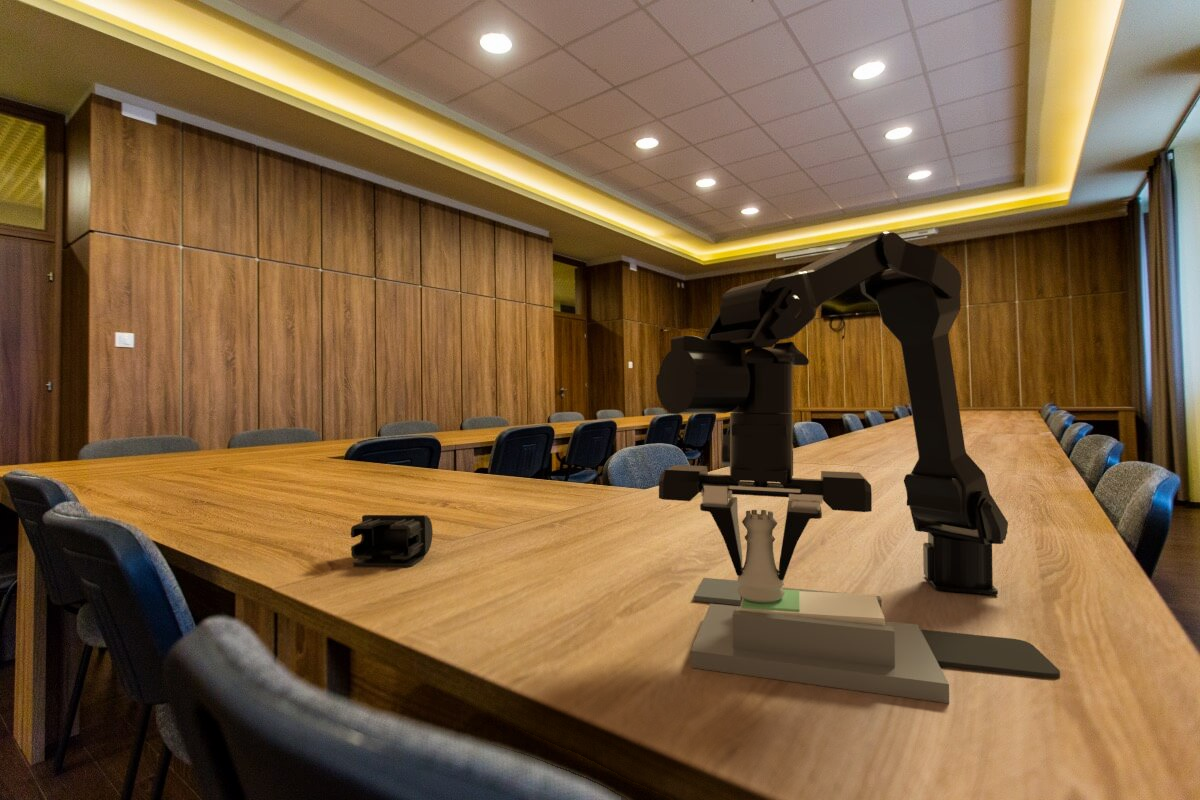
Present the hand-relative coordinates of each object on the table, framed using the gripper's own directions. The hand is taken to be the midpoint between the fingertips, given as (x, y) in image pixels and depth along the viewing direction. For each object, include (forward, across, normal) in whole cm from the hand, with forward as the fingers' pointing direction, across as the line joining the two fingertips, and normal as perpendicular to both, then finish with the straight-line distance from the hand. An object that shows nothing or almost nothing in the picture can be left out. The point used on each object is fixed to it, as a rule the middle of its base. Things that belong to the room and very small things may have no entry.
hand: (760, 576), depth 54 cm
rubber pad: (+7, +5, -14) cm, 16 cm away
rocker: (+3, -4, 0) cm, 5 cm away
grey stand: (+7, -4, 0) cm, 8 cm away
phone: (+7, -17, -4) cm, 19 cm away
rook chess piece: (+2, 0, 0) cm, 2 cm away
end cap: (+8, +55, -15) cm, 57 cm away
